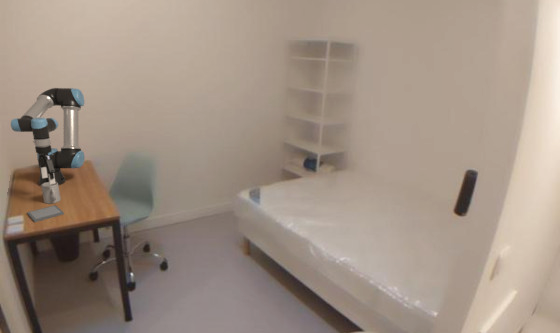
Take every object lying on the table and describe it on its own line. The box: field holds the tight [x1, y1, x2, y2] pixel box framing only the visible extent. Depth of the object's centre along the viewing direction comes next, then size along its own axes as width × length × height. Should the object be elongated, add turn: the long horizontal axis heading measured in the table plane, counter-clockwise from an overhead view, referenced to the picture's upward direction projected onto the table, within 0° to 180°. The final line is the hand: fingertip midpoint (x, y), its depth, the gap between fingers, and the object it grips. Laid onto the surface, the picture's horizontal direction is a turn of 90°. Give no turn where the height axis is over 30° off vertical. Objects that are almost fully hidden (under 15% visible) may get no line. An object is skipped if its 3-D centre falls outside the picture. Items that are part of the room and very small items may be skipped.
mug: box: [40, 182, 62, 205], centre depth 207 cm, size 12×8×11 cm
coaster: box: [26, 204, 65, 223], centre depth 193 cm, size 13×14×1 cm
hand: (48, 180), depth 203 cm, fingers open, 13 cm apart
